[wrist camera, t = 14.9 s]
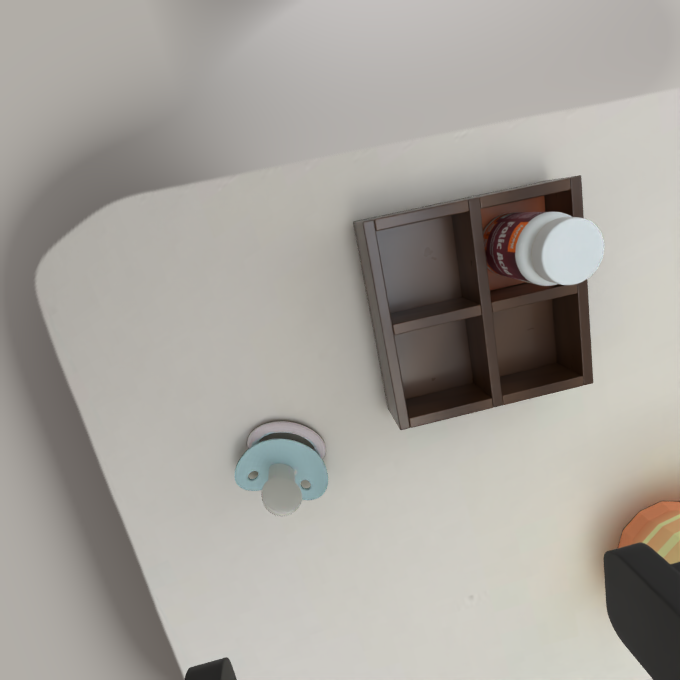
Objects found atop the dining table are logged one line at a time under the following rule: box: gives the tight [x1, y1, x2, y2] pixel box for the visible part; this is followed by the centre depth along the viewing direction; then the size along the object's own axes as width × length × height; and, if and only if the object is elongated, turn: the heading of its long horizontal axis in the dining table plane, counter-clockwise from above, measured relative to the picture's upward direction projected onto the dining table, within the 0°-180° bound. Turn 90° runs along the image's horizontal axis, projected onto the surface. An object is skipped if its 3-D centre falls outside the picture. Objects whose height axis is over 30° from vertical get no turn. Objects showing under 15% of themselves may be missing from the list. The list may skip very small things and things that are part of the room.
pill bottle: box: [483, 212, 604, 286], centre depth 32 cm, size 5×5×8 cm
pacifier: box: [235, 421, 328, 516], centre depth 36 cm, size 7×6×6 cm
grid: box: [353, 176, 593, 430], centre depth 35 cm, size 15×15×4 cm
